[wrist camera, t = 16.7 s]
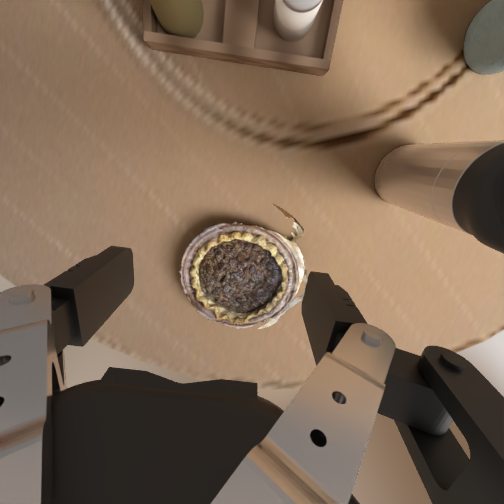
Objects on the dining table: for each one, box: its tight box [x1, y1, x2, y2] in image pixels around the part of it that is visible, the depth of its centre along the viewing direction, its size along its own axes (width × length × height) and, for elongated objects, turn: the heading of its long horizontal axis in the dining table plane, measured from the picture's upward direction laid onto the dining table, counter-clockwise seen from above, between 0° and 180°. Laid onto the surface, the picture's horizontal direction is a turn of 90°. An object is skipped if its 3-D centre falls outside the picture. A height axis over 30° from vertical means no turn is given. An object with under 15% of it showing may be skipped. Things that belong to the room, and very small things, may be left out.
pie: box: [179, 205, 308, 329], centre depth 45 cm, size 28×27×5 cm
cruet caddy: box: [143, 0, 343, 76], centre depth 31 cm, size 24×11×3 cm, turn 82°
